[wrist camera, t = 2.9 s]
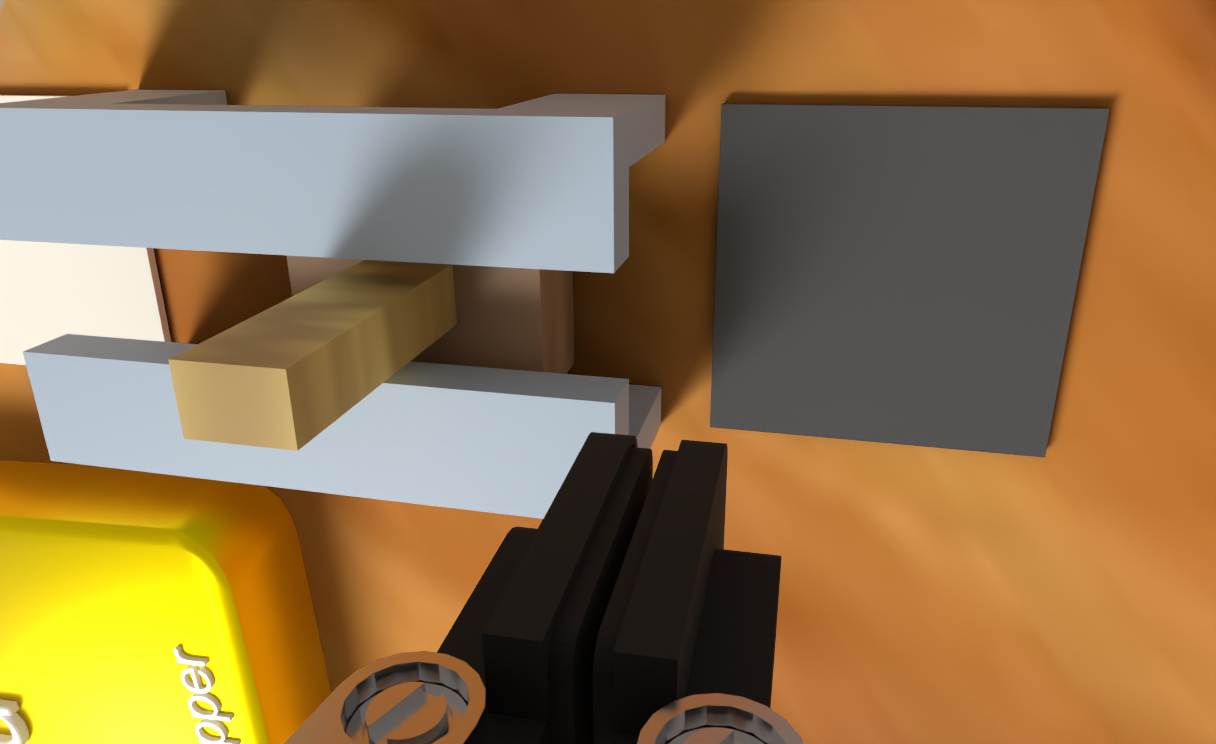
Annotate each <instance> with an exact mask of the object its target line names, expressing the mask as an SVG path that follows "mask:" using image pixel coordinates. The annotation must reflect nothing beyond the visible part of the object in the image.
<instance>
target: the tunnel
mask: <svg viewBox="0 0 1216 744" xmlns="http://www.w3.org/2000/svg"><path fill="white" fill-rule="evenodd" d="M665 104H666V95H649V94H551V95H547V96H544V97H540V98H536V99H532V100H528V101H525V102H521V103H517V104H513V105H509V106H505V107H502V108H498V109H479V108H407V107H335V106H263V105H227V98H226V92H225V90H141V89H136V90H127V91H117V92H107V93H97V94H87V95H77V96H67V97H57V98H47V99H37V100H27V101H17V102H7V103H0V240H13V241H31V242H49V243H68V244H86V245H104V246H123V247H141V248H159V249H178V250H196V251H215V252H233V253H251V254H270V255H288V256H306V257H325V258H343V259H362V260H380V261H398V262H417V263H435V264H453V265H472V266H490V267H509V268H527V269H545V270H564V271H582V272H600V273H615V272H616V270H617V269H618V268H619V267H620V266H621V265H622V264H623V263H624V261H625V260H626V259H627V258H628V257H629V167H630V166H632V165H633V164H634V163H636V162H637V161H639V160H640V159H641V158H643V157H644V156H646V155H647V154H649V153H650V152H651V151H653V150H654V149H656V148H657V147H659V146H660V145H661V144H663V143H664V142H665ZM196 345H198V344H188V343H175V342H163V341H150V340H138V339H125V338H113V337H101V336H88V335H76V334H65V335H63V336H60V337H58V338H55V339H53V340H50V341H48V342H45V343H43V344H40V345H38V346H36V347H33V348H31V349H28V350H26V351H23V355H24V359H25V363H26V367H27V371H28V375H29V378H30V382H31V386H32V390H33V394H34V398H35V402H36V406H37V410H38V413H39V417H40V421H41V425H42V429H43V433H44V437H45V441H46V444H47V448H48V452H49V456H50V460H51V461H57V462H66V463H74V464H83V465H91V466H100V467H108V468H117V469H125V470H134V471H142V472H151V473H159V474H168V475H176V476H185V477H193V478H202V479H210V480H219V481H227V482H236V483H244V484H253V485H261V486H270V487H278V488H287V489H295V490H304V491H312V492H321V493H329V494H338V495H346V496H355V497H363V498H372V499H380V500H389V501H397V502H406V503H414V504H423V505H431V506H440V507H448V508H457V509H465V510H474V511H482V512H491V513H499V514H508V515H516V516H525V517H533V518H542V519H544V517H545V515H546V513H547V511H548V509H549V508H550V506H551V504H552V502H553V500H554V498H555V496H556V495H557V493H558V491H559V489H560V487H561V485H562V483H563V482H564V480H565V478H566V476H567V474H568V472H569V471H570V469H571V467H572V465H573V463H574V461H575V459H576V458H577V456H578V454H579V452H580V450H581V448H582V446H583V445H584V443H585V441H586V439H587V437H588V435H589V434H590V433H591V432H597V433H609V434H620V435H632V436H636V439H637V445H638V448H648V449H650V448H651V446H652V443H653V441H654V439H655V437H656V434H657V432H658V430H659V427H660V425H661V387H655V386H642V385H630V384H629V379H623V378H610V377H598V376H585V375H573V374H560V373H548V372H536V371H523V370H511V369H498V368H486V367H473V366H461V365H449V364H436V363H424V362H411V361H410V362H409V363H407V364H406V365H405V366H404V367H402V368H401V369H400V370H399V371H397V372H396V373H395V374H394V375H392V376H391V377H390V378H389V379H387V380H386V381H385V382H384V383H382V384H381V385H380V386H379V387H377V388H376V389H375V390H374V391H372V392H371V393H370V394H368V395H367V396H366V397H365V398H363V399H362V400H361V401H360V402H358V403H357V404H356V405H355V406H353V407H352V408H351V409H350V410H348V411H347V412H346V413H345V414H343V415H342V416H341V417H340V418H338V419H337V420H336V421H335V422H333V423H332V424H331V425H330V426H328V427H327V428H326V429H325V430H323V431H322V432H321V433H320V434H318V435H317V436H316V437H315V438H313V439H312V440H311V441H309V442H308V443H307V444H306V445H304V446H303V447H302V448H301V449H299V450H298V451H294V450H285V449H276V448H266V447H257V446H248V445H238V444H229V443H220V442H210V441H201V440H191V439H184V437H183V432H182V427H181V422H180V417H179V412H178V407H177V401H176V396H175V391H174V386H173V381H172V376H171V371H170V366H169V361H168V359H170V358H172V357H174V356H176V355H178V354H180V353H182V352H184V351H186V350H188V349H190V348H192V347H194V346H196Z"/></svg>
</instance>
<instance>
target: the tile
mask: <svg viewBox="0 0 1216 744" xmlns="http://www.w3.org/2000/svg"><path fill="white" fill-rule="evenodd" d="M57 97H67V96H58V95H0V103H7V102H17V101H27V100H37V99H47V98H57ZM65 334H76V335H88V336H101V337H113V338H125V339H138V340H150V341H163V342H171V337H170V332H169V327H168V322H167V317H166V311H165V306H164V301H163V296H162V291H161V285H160V280H159V275H158V270H157V265H156V260H155V254H154V249H153V248H141V247H123V246H104V245H86V244H68V243H49V242H31V241H13V240H0V363H9V364H20V365H26V363H25V359H24V355H23V351H26V350H28V349H31V348H33V347H36V346H38V345H40V344H43V343H45V342H48V341H50V340H53V339H55V338H58V337H60V336H63V335H65Z"/></svg>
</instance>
